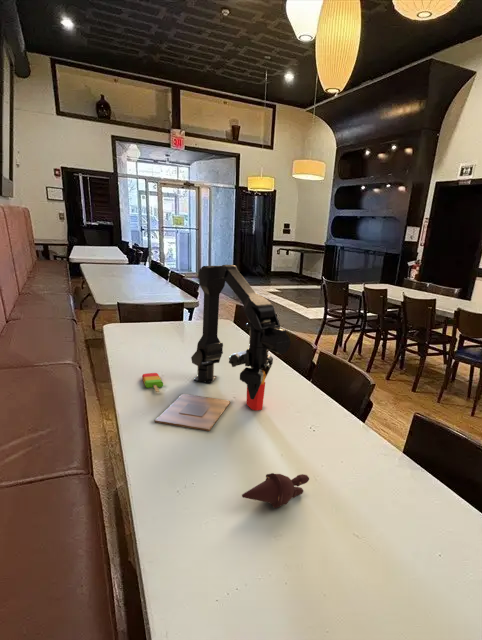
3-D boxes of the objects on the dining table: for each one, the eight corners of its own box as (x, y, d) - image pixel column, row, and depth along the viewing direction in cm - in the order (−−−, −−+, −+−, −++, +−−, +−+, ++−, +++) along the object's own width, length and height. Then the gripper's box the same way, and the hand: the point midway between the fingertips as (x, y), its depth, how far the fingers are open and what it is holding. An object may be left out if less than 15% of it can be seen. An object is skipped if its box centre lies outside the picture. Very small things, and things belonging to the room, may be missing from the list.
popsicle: (157, 377, 146) (157, 372, 146) (166, 393, 134) (166, 388, 133) (141, 378, 144) (141, 373, 143) (149, 395, 131) (148, 389, 131)
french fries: (243, 401, 132) (245, 366, 128) (254, 400, 134) (257, 365, 130) (255, 412, 125) (257, 376, 121) (266, 411, 127) (269, 374, 123)
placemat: (182, 395, 133) (182, 393, 133) (230, 402, 131) (230, 400, 131) (154, 422, 115) (154, 420, 115) (209, 431, 113) (209, 429, 112)
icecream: (253, 498, 77) (319, 486, 84) (239, 469, 82) (302, 460, 89) (244, 522, 80) (308, 509, 88) (232, 493, 86) (293, 482, 93)
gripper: (240, 334, 132) (238, 379, 138) (223, 350, 115) (221, 401, 121) (274, 338, 130) (271, 384, 136) (262, 355, 113) (258, 406, 119)
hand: (255, 393), depth 128 cm, fingers open, 9 cm apart
